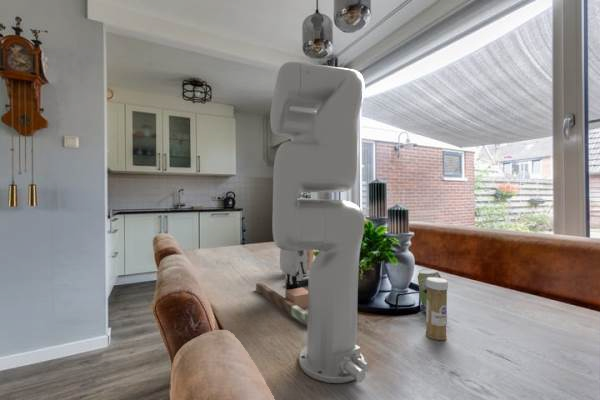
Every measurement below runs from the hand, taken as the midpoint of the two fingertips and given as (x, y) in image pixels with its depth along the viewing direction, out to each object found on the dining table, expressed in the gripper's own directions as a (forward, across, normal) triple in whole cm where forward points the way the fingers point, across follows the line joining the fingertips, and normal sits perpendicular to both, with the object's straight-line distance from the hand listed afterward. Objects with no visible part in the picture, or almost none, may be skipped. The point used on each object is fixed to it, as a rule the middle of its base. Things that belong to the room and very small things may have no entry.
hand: (291, 295), depth 89 cm
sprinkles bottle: (+1, -38, -17) cm, 42 cm away
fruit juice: (+1, +24, -19) cm, 31 cm away
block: (+1, -5, +1) cm, 5 cm away
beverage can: (+1, -29, -29) cm, 41 cm away
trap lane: (+1, -3, -4) cm, 5 cm away
